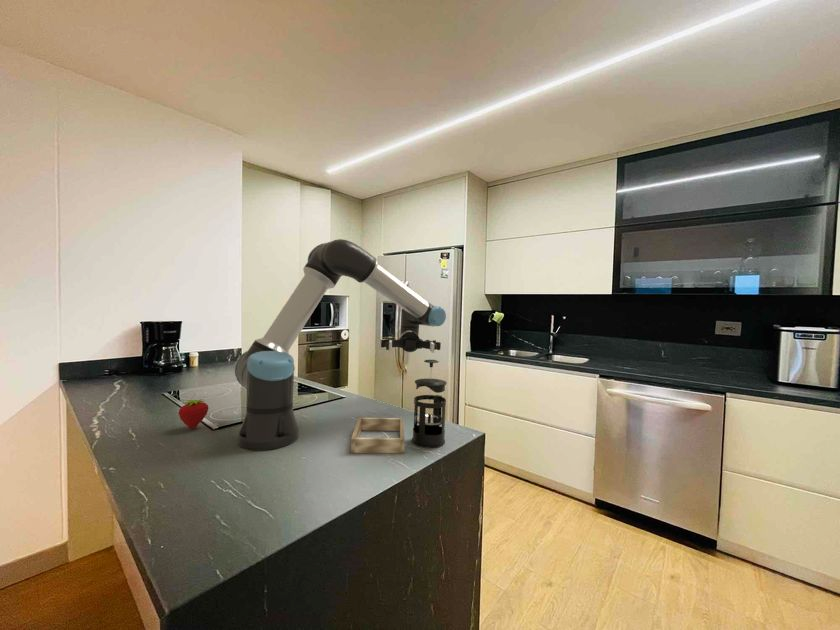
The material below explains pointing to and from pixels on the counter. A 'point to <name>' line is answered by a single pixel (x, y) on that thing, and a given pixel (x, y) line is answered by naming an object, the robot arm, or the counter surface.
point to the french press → (429, 424)
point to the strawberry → (193, 412)
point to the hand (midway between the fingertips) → (411, 347)
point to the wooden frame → (378, 443)
